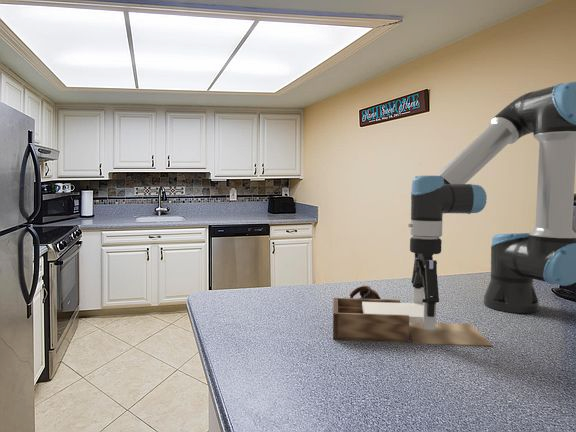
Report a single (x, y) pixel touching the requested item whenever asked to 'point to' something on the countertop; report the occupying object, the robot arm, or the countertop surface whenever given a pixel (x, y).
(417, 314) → the cover plate
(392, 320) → the walnut box
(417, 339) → the cork mat
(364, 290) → the pottery mug
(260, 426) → the countertop surface
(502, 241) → the robot arm
